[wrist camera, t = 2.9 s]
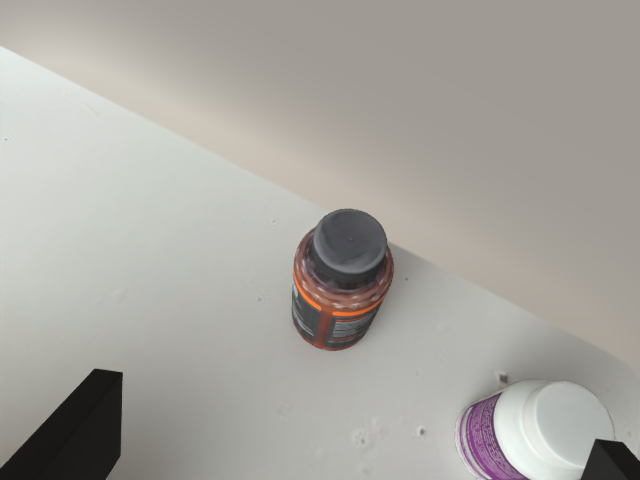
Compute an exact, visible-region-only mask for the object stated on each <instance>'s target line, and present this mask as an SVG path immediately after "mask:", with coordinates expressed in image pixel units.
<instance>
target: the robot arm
mask: <svg viewBox="0 0 640 480" xmlns="http://www.w3.org/2000/svg"><path fill="white" fill-rule="evenodd" d="M122 380H123V372H116V371H109V370H102V369H94V370H93V371H92V372H91V373H90V374H89V375H88V376H87V377H86V378H85V379H84V380H83V381H82V383H81V384H80V385H79V386H78V387H77V388H76V389H75V390H74V391H73V392H72V393H71V394H70V395H69V396H68V397H67V398H66V400H65V401H64V402H63V403H62V404H61V405H60V406H59V407H58V408H57V409H56V410H55V411H54V412H53V413H52V414H51V415H50V417H49V418H48V419H47V420H46V421H45V422H44V423H43V424H42V425H41V426H40V427H39V428H38V429H37V430H36V431H35V432H34V434H33V435H32V436H31V437H30V438H29V439H28V440H27V441H26V442H25V443H24V444H23V445H22V446H21V447H20V448H19V449H18V450H17V452H16V453H15V454H14V455H13V456H12V457H11V458H10V459H9V460H8V461H7V462H6V463H5V464H4V465H3V466H2V467H1V469H0V480H106V478H107V477H108V475H109V473H110V472H111V470H112V469H113V467H114V465H115V464H116V462H117V461H118V459H119V457H120V454H121V417H122ZM580 480H640V461H639V460H638V459H637V458H636V457H635V456H634V454H633V453H632V452H631V451H630V450H629V449H628V448H627V447H626V445H625V444H624V443H623V442H617V441H610V440H603V439H596V438H595V441H594V444H593V447H592V449H591V452H590V455H589V458H588V460H587V463H586V466H585V469H584V471H583V474H582V477H581V479H580Z"/></svg>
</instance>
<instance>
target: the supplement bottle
mask: <svg viewBox="0 0 640 480" xmlns="http://www.w3.org/2000/svg"><path fill="white" fill-rule="evenodd" d="M293 269H294V270H293V292H292V316H293V321H294V324H295V327H296V328H297V330H298V332H299V333H300V335H301V336H302V337H303V338H304V339H305V340H306V341H307V342H309V343H310V344H312V345H313V346H315V347H317V348H320V349H324V350H329V351H336V350H342V349H346V348H348V347H351V346H353V345H354V344H356V343H357V342H358V341H359V340H361V339H362V337H363V336H364V335H365V334H366V332H367V331H368V329H369V327H370V325H371V323H372V321H373V319H374V317H375V315H376V313H377V311H378V309H379V307H380V305H381V303H382V301H383V299H384V297H385V295H386V293H387V291H388V289H389V287H390V284H391V281H392V277H393V272H394V264H393V258H392V254H391V251H390V249H389V247H388V245H387V238H386V234H385V232H384V229H383V228H382V226H381V225H380V223H379V222H378V221H377V220H376V219H375V218H373V217H372V216H370V215H369V214H367V213H365V212H363V211H359V210H354V209H340V210H336V211H334V212H332V213H330V214H328V215H326V216H324V218H323V219H322V220H320V222H319V223H318V225H317V226H316V227H315V228H313V229H312V230H311V231H310V232H309V233H307V234H306V235H305V237H304V238H303V239H302V241H301V242H300V244H299V246H298V248H297V251H296V254H295V259H294V268H293Z"/></svg>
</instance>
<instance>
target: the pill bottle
mask: <svg viewBox="0 0 640 480" xmlns="http://www.w3.org/2000/svg"><path fill="white" fill-rule="evenodd" d="M595 438H596V439H603V440H610V441H615V431H614V426H613V422H612V419H611V417H610V415H609V413H608V411H607V409H606V407H605V406H604V405H603V403H602V402H601V401H600V399H599V398H598V397H597V396H596V395H595V394H593V393H592V392H591V391H590V390H588V389H587V388H585V387H583V386H581V385H579V384H576V383H573V382H568V381H556V382H552V383H551V382H548V381H544V380H538V379H529V380H523V381H519V382H516V383H514V384H512V385H510V386H507V387H505V388H503V389H501V390H499V391H497V392H495V393H493V394H490V395H488V396H486V397H484V398H482V399H480V400H477V401H475V402H473V403H471V404H470V405H468V406H467V407H466V408H465V409H464V410H463V411H462V412H461V414H460V415H459V417H458V419H457V422H456V425H455V443H456V448H457V451H458V454H459V456H460V458H461V459H462V461H463V463H464V465H465V466H466V467H467V468H468V470H469V471H470V472H471V473H472V474H473V475H474V476H475V477H477V478H478V479H480V480H578V479H579V478H580V477H582V474H583V471H584V469H585V466H586V463H587V460H588V458H589V455H590V452H591V449H592V447H593V444H594V441H595Z"/></svg>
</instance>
